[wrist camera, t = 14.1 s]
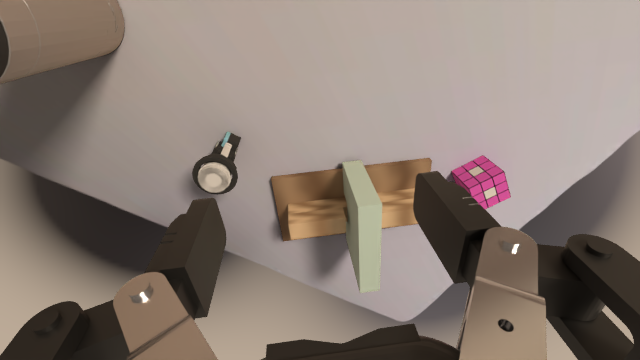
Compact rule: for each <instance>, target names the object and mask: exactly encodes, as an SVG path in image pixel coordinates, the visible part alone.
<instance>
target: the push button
mask: <svg viewBox="0 0 640 360" xmlns="http://www.w3.org/2000/svg"><path fill="white" fill-rule="evenodd" d="M240 139H241V137H238V136H236V135H234V134H232V133H229V132H227V133H226V136H225V138H224V141H223V142H221V141H220V142H219V140H218V142H219V144H218V142H217V144H216V147H215V148H214V150H213V152H212V154H211V155H208V156H205V157H203V158H201V159H200V160H199V161H198V162H197V163H196V164H195V166H194V168H193V172H192V174H193V179H194V181H195V183H196V184H197V186H198V187H199V188H201V189H202V190H204V191H205V192H208V193H211V194H224V193H227V192H229V191H230V190H232V189H233V188H234V186H235V185H236V183H237V179H238V174H237V170H236V166H235V164H234V159H235V155H236V153H237V151H236V149H237V147H238V145H239V142H240ZM237 150H238V149H237ZM235 151H236V152H235ZM202 164H204V165H203V166H202V167H201V165H202ZM231 174H232V179H231Z"/></svg>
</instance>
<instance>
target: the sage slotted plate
mask: <svg viewBox="0 0 640 360" xmlns="http://www.w3.org/2000/svg"><path fill="white" fill-rule="evenodd" d="M342 166H343V186H344V195H345V198H346V201H347V214H348V221H347V222H346V240H347V244H348V248H349V252H350V256H351V260H352V264H353V268H354V271H355V275H356V279H357V283H358V287H359V291H360V293H364V292H371V291H378V290H380V262H381V230H382V202H381V200H380V198H379V196H378V194H377V192H376V190H375V188H374V186H373V184H372V182H371V180H370V177H369V175H368V173H367V171H366V169H365V167H364V165H363V163H362V161H361V160H358V161H349V162H342Z"/></svg>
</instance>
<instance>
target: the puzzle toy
mask: <svg viewBox="0 0 640 360" xmlns="http://www.w3.org/2000/svg"><path fill="white" fill-rule="evenodd" d="M452 175H453V177H454V179H455V183H456V184H458V185H459V186H461V187H463V188H465V189H466V190H467V191H468V193H469V194H470V195H471V196H472V198H474V199H475V200H476V201H477V202H478V204H480V205H481V206H482V207H483V208H484V209H487V208H489V207H491V206H493V205H495V204H497V203H499V202H501V201H504V200H506V199H508V198H510V197H511V196H510V192H509V189H508V184H507V181H506V177H505V173H504V171H503V170H502V169H500V168H499V167H498V166H496V165H495V164H494V163H492V162H491V161H490V160H489V159H487V158H486V157H485V156H481V157H479V158H477V159H475V160H473V161H471V162H469V163H467V164H465V165H463V166H461V167H459V168H457V169H455V170H453V171H452Z"/></svg>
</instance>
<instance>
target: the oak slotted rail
mask: <svg viewBox="0 0 640 360" xmlns="http://www.w3.org/2000/svg"><path fill="white" fill-rule="evenodd" d="M431 163H432V160H431V159H430V158H424V159H416V160H408V161H399V162H391V163H382V164H374V165H366V166H364V167H365V169H366V171H367V173H368V175H369V177H370V180H371V182H372V184H373V186H374V188H375V190H376V192H377V194H378V196H379V198H380V200H381V202H382V228H390V227H398V226H405V225H413V224H418V222H417V221H416V219H415V216H414V211H413V201H414V191H415V181H416V176H417V174H418V173H425V172H430V170H431ZM271 181H272V186H273V191H274V196H275V201H276V206H277V211H278V217H279V222H280V227H281V232H282V237H283V241H289V240H296V239H304V238H312V237H320V236H328V235H335V234H343V233H346V222H347V221H348V214H347V201H346V198H345V195H344V186H343V168H340V169H332V170H324V171H315V172H307V173H298V174H290V175H282V176H273V177H272V178H271Z"/></svg>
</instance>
